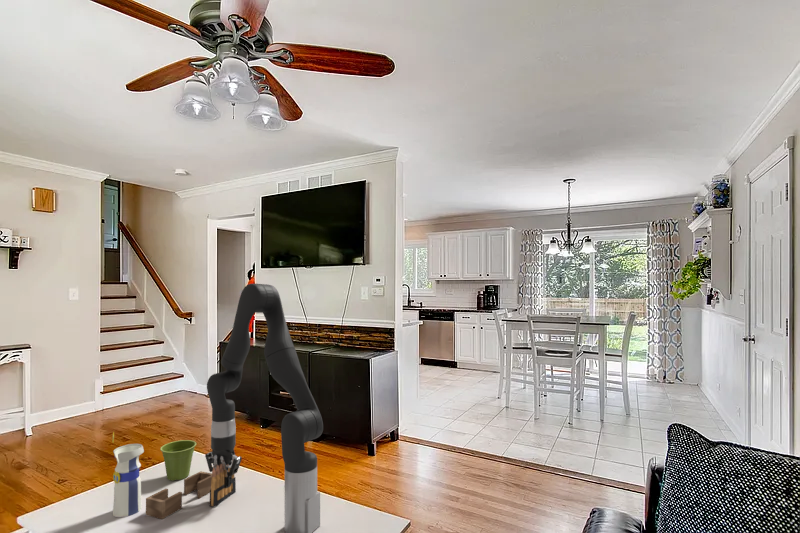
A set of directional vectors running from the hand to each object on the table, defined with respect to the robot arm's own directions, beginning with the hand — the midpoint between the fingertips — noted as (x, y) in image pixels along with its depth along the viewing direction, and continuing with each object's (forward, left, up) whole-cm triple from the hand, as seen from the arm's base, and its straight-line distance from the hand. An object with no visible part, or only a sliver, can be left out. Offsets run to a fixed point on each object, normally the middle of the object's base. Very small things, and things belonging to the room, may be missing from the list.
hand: (223, 485), depth 145 cm
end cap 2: (+11, -1, -4) cm, 12 cm away
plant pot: (+28, -7, -4) cm, 29 cm away
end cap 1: (+11, +13, -4) cm, 18 cm away
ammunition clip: (0, 0, -4) cm, 4 cm away
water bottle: (+22, +17, -4) cm, 28 cm away
